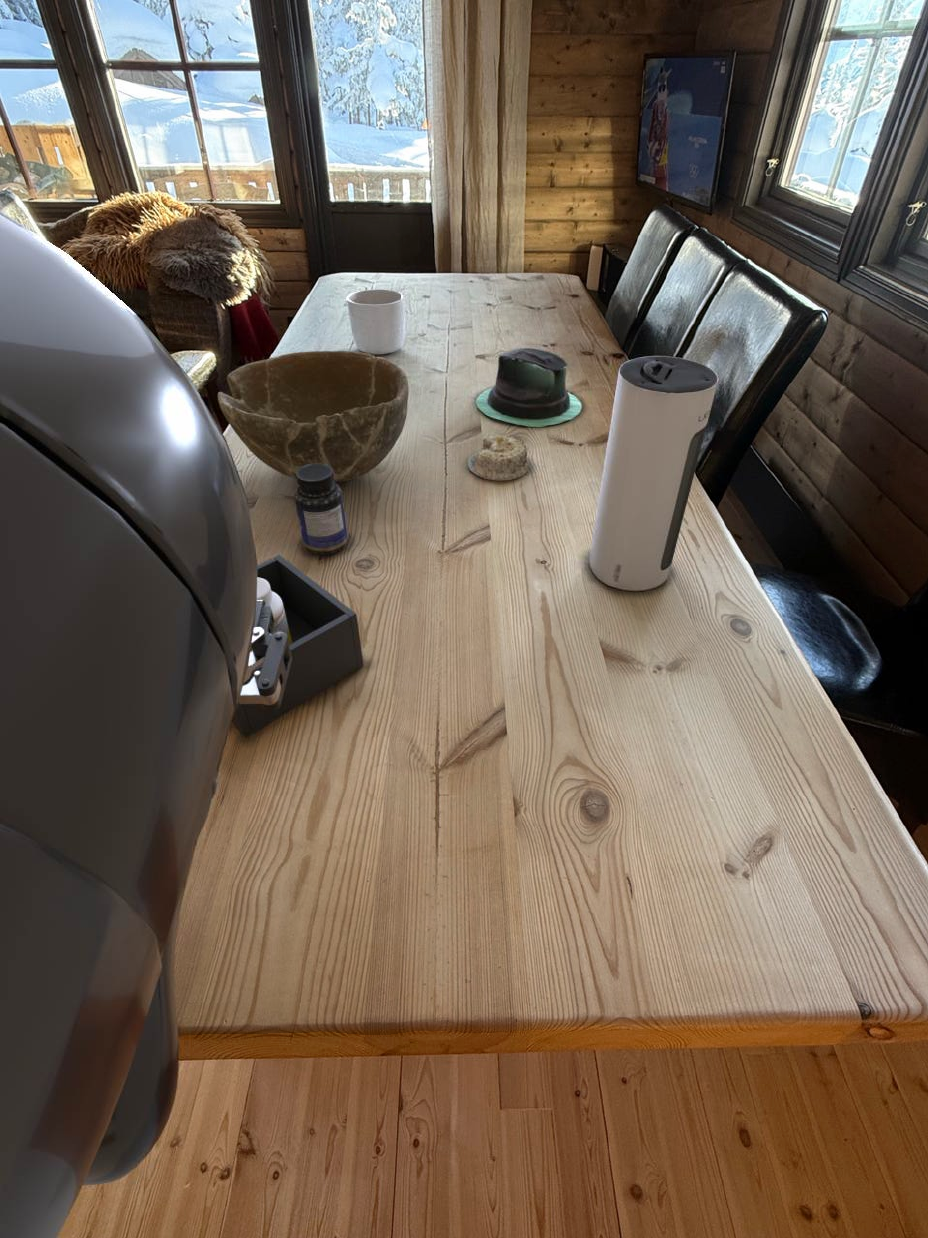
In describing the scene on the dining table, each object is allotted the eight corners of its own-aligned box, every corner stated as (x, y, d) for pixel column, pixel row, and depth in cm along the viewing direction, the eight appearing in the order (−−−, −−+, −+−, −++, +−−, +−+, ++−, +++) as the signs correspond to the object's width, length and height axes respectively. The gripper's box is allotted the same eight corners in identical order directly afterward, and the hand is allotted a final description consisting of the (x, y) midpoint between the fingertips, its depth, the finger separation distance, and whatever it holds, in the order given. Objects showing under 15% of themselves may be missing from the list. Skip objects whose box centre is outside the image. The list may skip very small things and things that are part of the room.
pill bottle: (309, 531, 92) (296, 459, 85) (352, 532, 92) (342, 460, 85) (299, 556, 88) (284, 483, 81) (344, 557, 88) (333, 484, 80)
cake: (528, 456, 111) (533, 426, 107) (527, 486, 103) (532, 455, 100) (470, 449, 111) (473, 418, 107) (464, 478, 103) (467, 447, 100)
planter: (377, 362, 142) (372, 308, 135) (341, 349, 149) (334, 297, 141) (418, 348, 149) (416, 296, 142) (382, 335, 155) (378, 285, 148)
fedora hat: (600, 390, 128) (567, 434, 115) (520, 418, 139) (481, 461, 126) (571, 314, 122) (532, 351, 108) (489, 351, 133) (445, 388, 120)
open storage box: (245, 738, 65) (227, 686, 60) (177, 663, 73) (156, 611, 68) (363, 665, 72) (356, 613, 67) (290, 604, 80) (279, 554, 75)
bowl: (219, 519, 95) (190, 420, 85) (257, 436, 115) (237, 349, 105) (410, 516, 95) (404, 417, 86) (415, 434, 116) (410, 346, 106)
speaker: (646, 604, 80) (696, 395, 63) (572, 573, 85) (599, 371, 68) (681, 563, 87) (735, 363, 70) (610, 536, 91) (644, 343, 74)
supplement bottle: (238, 654, 73) (215, 581, 66) (287, 638, 75) (269, 565, 68) (250, 686, 69) (227, 612, 63) (301, 669, 71) (284, 595, 64)
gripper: (256, 730, 40) (289, 569, 52) (10, 744, 39) (102, 577, 51) (278, 801, 44) (304, 639, 57) (60, 815, 44) (134, 647, 56)
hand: (208, 610), depth 54 cm, fingers open, 8 cm apart
